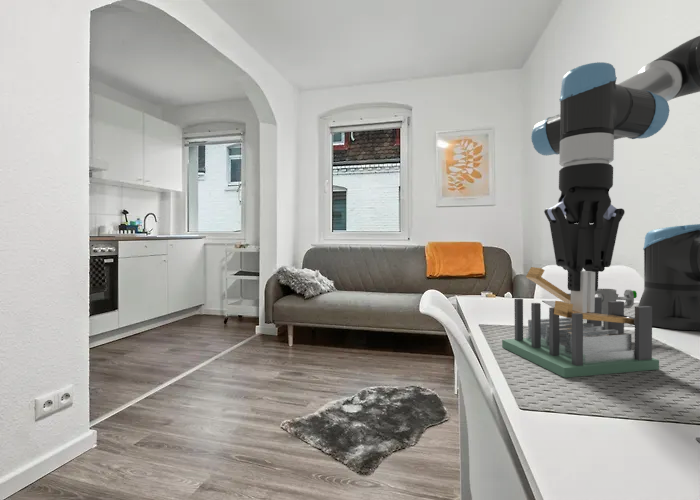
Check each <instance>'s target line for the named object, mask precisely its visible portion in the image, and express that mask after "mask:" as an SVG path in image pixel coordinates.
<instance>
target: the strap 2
mask: <svg viewBox="0 0 700 500" xmlns="http://www.w3.org/2000/svg"><path fill="white" fill-rule="evenodd" d="M554 307H555V308H554V314H556V315H559V317H562V318H572V313H581V314H583V320H586V321H587V320H597V321H602V322H603V321H607V322H617V323H624V324H629V325H633V326H635V316H628V315H625V314H624V315H618V316H616V315H607V314H597V313H582V312H577V311H572V309H573V304H570V303H566V302H564V301H562V300H560V301H559V300H555V302H554Z"/></svg>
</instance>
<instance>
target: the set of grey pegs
mask: <svg viewBox="0 0 700 500" xmlns="http://www.w3.org/2000/svg"><path fill="white" fill-rule="evenodd" d="M567 294H568V295H570V296H571V293H567ZM624 303H625V301H624V300H616V301H610V302H608V315H616V316H618V315H625V308H624ZM541 305H542V304H541V302H540V303H539V302H531V307H530V309H531V315H530V316H531V319H530V320H531V333H532V347H533V348H541V319H542V318H541V316H542V313H541V312H542V311H541V307H542V306H541ZM554 308H555V306H554V307H548V312H549V313H548V314H549V315H548V319H549V354H550V355H552V356H559V318H560V315H556V314H554ZM572 311H574V310H572ZM577 312H578V311H577ZM587 313H597V314H602V298H601V297H598V296H595V312H587ZM634 318H635V325H634V350H635V359H636V360H651V359H652V358H653V326H652V307H650V306H639V305H638V306H634ZM602 322H603V321H597V320H587V319H586V323H592V324H594V326H603V323H602ZM583 323H584V319H583V314H581V313H572V364H573V365H575V366H581V365H583ZM611 329H615V330H618V334H619V333H625V332H624V331H625V323H617V322H608V330H611ZM523 338H524V299H523V298H514V339H515V340H517V341H520V340H523Z"/></svg>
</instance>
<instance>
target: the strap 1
mask: <svg viewBox="0 0 700 500" xmlns="http://www.w3.org/2000/svg"><path fill="white" fill-rule="evenodd" d="M544 272H545V269H543V268H542V267H535V266H533V267H532V266H530V269H529V270H528V272H527V273H526V276H525V278H526V279H528V280H530V281H531V282H532V283H534V284H536V285H537V286H538V287H540V288H542V289H544V291H545V290H546V291H547V292H548V293H549V294H552V295H553V296H555V297H556V298H557V299H559V300H560V301H561V302H566V303H570V302H571V296H570V295H568V294H569V293H567V292H565V291H564V290H562V289H560V288H559V287H557V286H556V285H554V284H552V283H551V282H550V281H548V280H547V279H545V278H543V277H542V276H543V274H544Z"/></svg>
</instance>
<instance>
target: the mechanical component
mask: <svg viewBox="0 0 700 500" xmlns="http://www.w3.org/2000/svg"><path fill="white" fill-rule="evenodd" d="M596 295H597V297H601V298H602V314H607V315H608V302H610V301H624V309H630V308H632V307H633V306H634V302H635V299H637V297H638V294H637V291H636V290H632V289H625V290H624V293H623V296H619V294H618V293H617V289H613V288H598V289H597V291H595V296H596ZM602 322H603V323H602V326H603V327H605V330H608V322H607V321H602Z"/></svg>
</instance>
